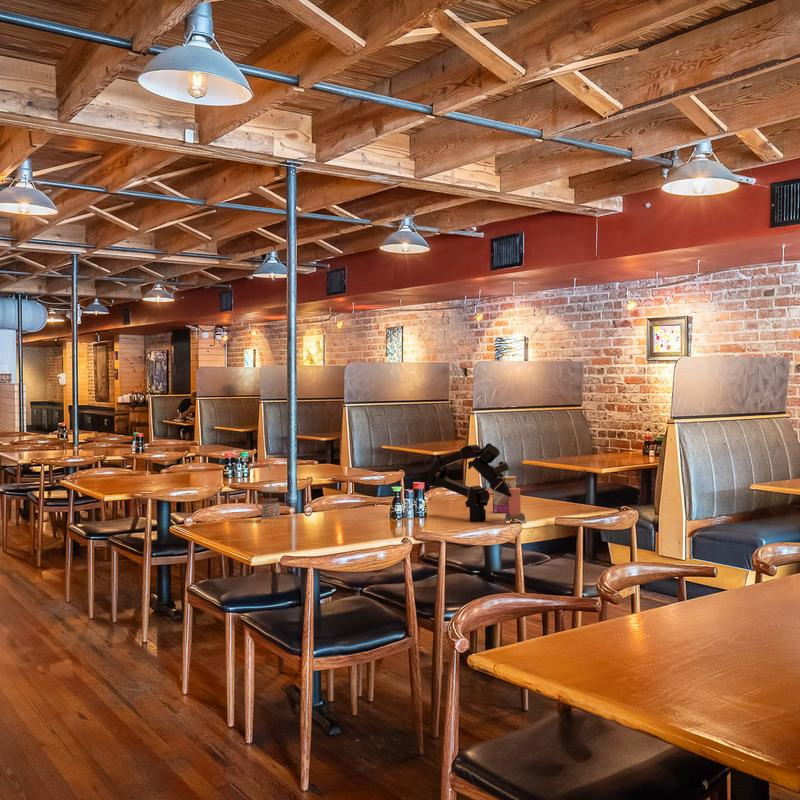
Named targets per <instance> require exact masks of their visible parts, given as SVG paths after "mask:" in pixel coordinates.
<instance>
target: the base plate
mask: <svg viewBox="0 0 800 800" xmlns="http://www.w3.org/2000/svg"><path fill="white" fill-rule="evenodd" d="M504 514H505V515H504V516H505V517H504V522H505V521H510V520H511V519H518V520H520V521H522V523H521V524H527V520H526V515H525V514H524V513H522V512H521V516H509V513H504Z"/></svg>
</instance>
